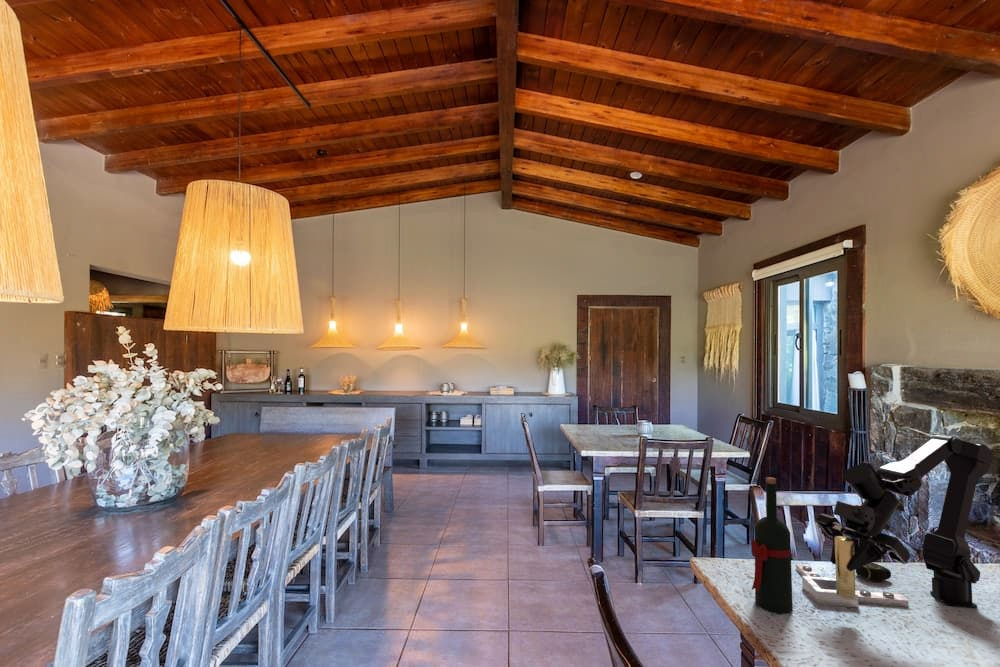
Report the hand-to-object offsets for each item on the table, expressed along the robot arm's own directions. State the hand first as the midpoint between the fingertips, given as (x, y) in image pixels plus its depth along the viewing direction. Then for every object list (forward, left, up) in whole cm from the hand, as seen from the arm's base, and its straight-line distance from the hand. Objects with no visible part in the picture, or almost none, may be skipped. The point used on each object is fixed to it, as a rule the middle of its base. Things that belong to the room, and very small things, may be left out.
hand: (840, 566), depth 113 cm
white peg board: (-8, -18, -12) cm, 23 cm away
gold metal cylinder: (-1, -1, -7) cm, 7 cm away
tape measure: (-19, -27, -12) cm, 35 cm away
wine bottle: (+14, -4, -12) cm, 19 cm away
